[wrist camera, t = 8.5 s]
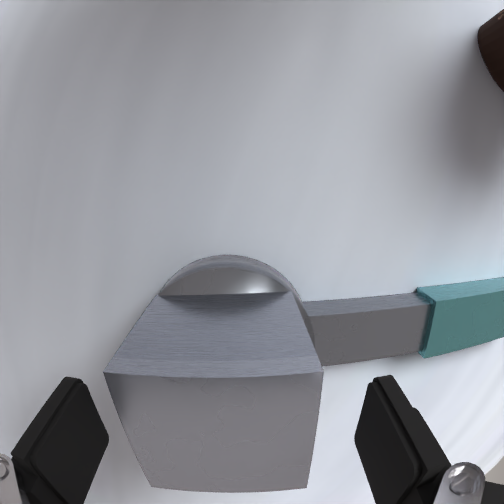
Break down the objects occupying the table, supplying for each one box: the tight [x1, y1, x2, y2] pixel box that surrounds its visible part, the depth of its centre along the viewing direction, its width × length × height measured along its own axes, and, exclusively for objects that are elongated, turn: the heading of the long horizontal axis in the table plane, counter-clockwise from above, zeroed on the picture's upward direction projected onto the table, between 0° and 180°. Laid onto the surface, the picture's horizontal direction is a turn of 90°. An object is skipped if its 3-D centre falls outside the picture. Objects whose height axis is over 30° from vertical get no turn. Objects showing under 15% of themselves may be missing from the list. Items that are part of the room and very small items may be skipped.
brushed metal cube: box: [103, 291, 324, 493], centre depth 11 cm, size 6×6×6 cm
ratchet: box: [158, 255, 504, 366], centre depth 13 cm, size 8×26×6 cm, turn 92°
